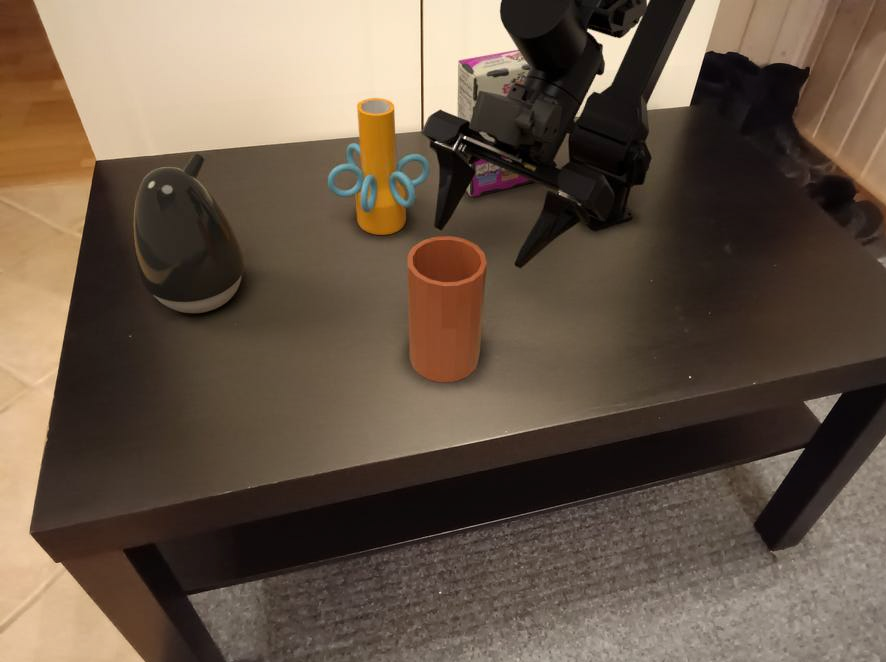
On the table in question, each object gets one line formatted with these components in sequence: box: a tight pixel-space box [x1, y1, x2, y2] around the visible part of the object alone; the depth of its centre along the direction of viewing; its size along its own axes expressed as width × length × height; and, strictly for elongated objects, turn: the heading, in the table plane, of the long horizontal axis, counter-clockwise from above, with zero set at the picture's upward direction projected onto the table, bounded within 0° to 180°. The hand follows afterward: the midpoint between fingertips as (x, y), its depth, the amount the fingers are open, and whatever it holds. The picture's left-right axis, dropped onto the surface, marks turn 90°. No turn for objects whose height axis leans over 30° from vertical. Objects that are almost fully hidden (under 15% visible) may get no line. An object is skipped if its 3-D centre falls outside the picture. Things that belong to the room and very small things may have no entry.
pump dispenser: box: [132, 153, 245, 314], centre depth 70 cm, size 10×10×15 cm
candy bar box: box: [457, 49, 536, 198], centre depth 89 cm, size 11×5×16 cm, turn 117°
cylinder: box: [327, 97, 431, 236], centre depth 81 cm, size 12×10×15 cm
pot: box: [406, 235, 488, 383], centre depth 67 cm, size 7×7×12 cm
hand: (476, 247), depth 66 cm, fingers open, 9 cm apart
